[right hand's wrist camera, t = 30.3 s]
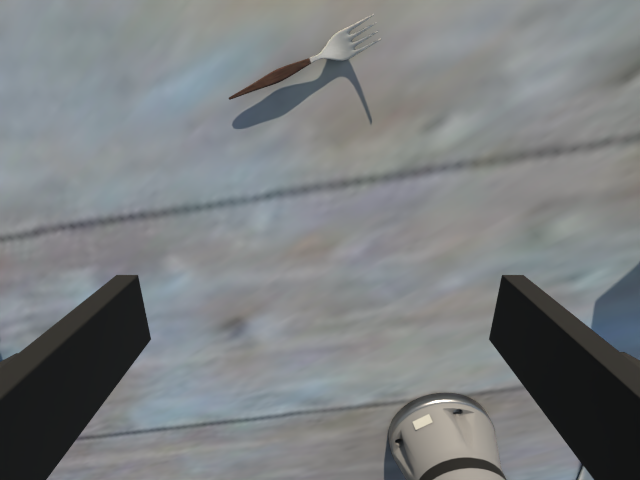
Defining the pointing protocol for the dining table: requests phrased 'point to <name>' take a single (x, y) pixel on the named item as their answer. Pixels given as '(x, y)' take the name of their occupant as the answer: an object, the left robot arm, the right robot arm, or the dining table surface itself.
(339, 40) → the fork
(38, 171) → the dining table surface
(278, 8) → the dining table surface
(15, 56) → the dining table surface
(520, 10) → the dining table surface
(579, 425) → the right robot arm
